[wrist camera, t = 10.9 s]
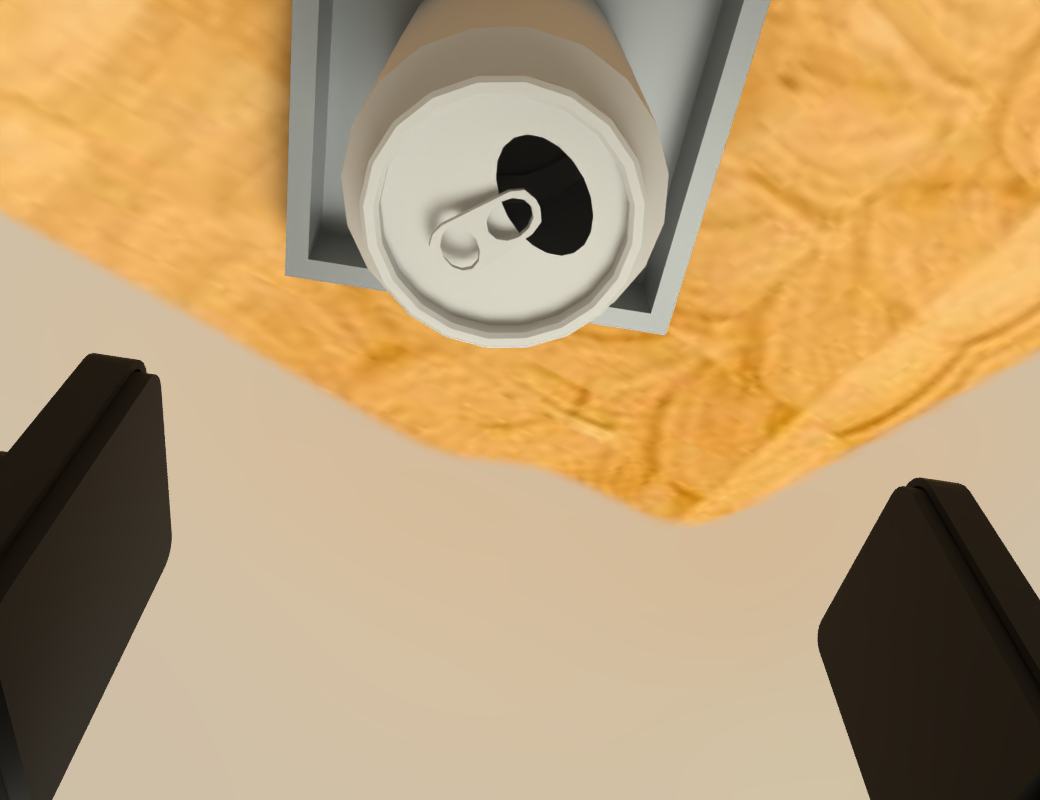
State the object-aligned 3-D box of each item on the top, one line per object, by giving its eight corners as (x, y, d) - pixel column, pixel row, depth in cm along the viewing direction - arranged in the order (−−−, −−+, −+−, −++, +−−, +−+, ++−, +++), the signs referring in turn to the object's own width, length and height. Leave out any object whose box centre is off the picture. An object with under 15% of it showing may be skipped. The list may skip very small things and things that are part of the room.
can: (658, 134, 29) (731, 296, 19) (466, 229, 31) (440, 422, 21) (562, -91, 25) (590, -34, 15) (350, 33, 27) (254, 155, 17)
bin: (772, -99, 26) (799, -91, 23) (654, 296, 33) (665, 335, 31) (320, -195, 24) (297, -197, 22) (303, 240, 32) (285, 275, 29)
